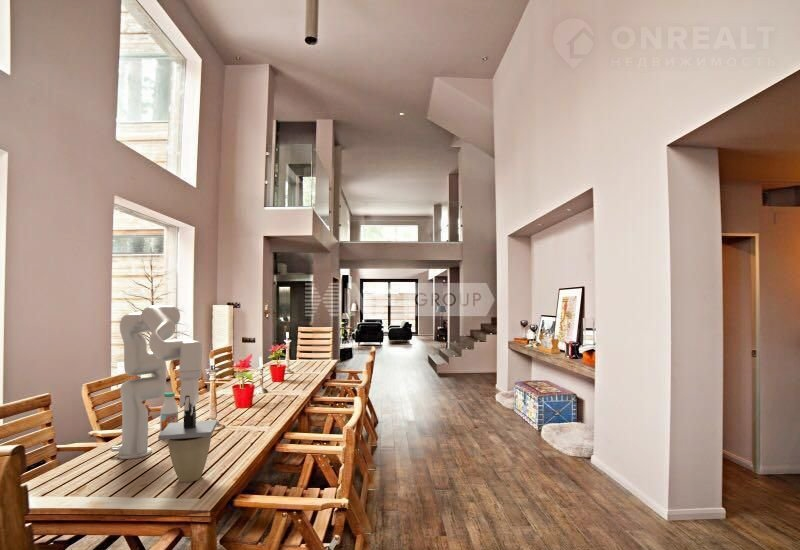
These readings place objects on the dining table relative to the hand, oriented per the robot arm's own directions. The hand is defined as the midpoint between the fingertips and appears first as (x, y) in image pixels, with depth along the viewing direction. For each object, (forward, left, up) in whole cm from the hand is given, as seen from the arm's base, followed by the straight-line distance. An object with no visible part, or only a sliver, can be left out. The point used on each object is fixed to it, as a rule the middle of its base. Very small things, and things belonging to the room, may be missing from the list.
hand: (189, 424), depth 171 cm
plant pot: (0, 0, -20) cm, 20 cm away
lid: (0, 0, -2) cm, 2 cm away
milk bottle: (-21, +63, -20) cm, 69 cm away
